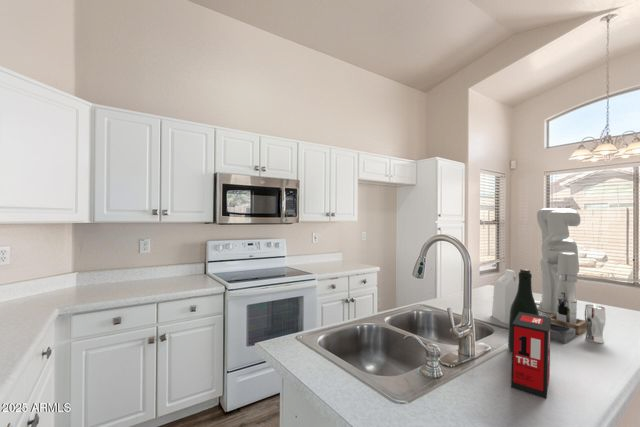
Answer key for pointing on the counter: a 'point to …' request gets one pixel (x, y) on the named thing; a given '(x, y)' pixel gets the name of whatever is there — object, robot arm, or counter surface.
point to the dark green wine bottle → (522, 301)
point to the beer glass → (595, 322)
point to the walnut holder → (579, 326)
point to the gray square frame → (561, 333)
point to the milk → (504, 295)
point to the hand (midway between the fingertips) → (566, 313)
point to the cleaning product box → (531, 354)
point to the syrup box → (568, 312)
